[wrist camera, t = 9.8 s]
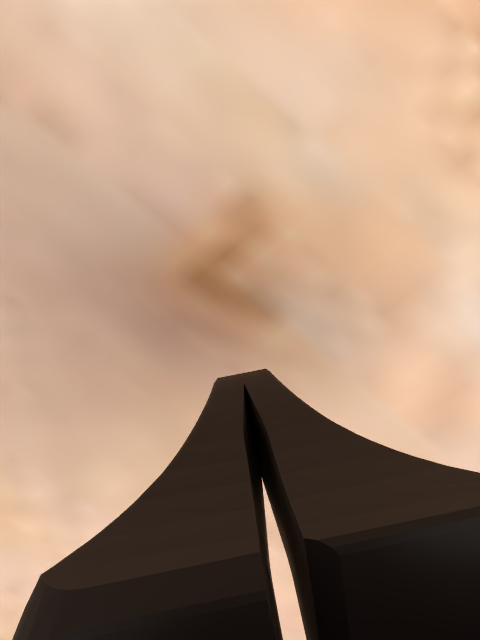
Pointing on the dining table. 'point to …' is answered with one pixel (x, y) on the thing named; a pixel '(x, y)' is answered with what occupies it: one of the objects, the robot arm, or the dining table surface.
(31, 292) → the dining table surface
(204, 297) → the dining table surface
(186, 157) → the dining table surface
